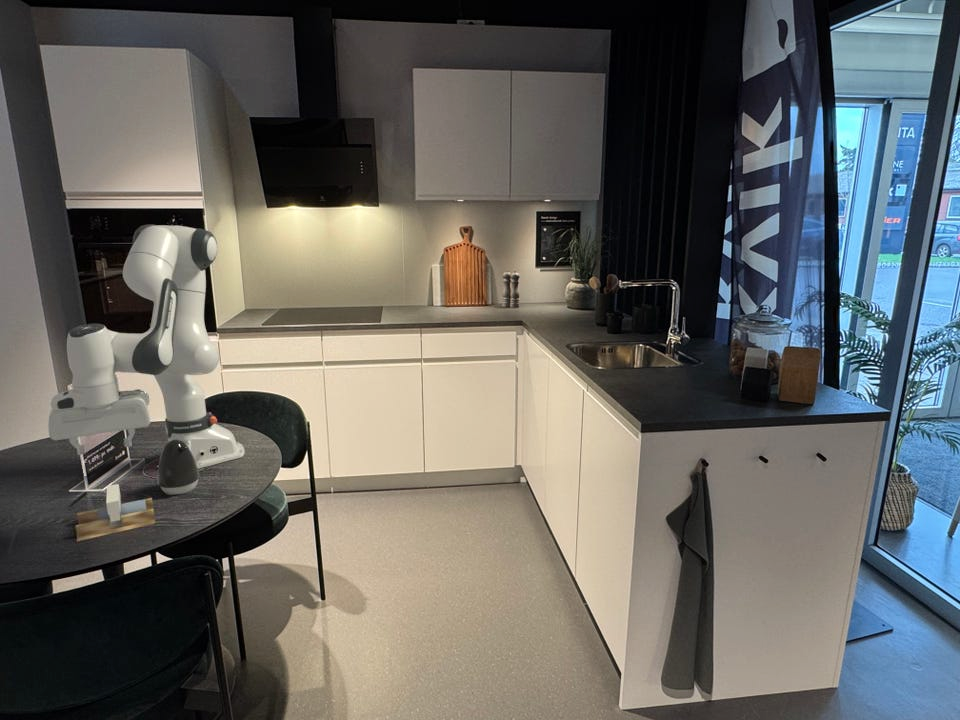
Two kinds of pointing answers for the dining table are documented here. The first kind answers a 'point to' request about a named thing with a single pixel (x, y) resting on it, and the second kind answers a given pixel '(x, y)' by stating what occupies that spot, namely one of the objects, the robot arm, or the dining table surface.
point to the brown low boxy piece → (95, 527)
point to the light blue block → (124, 509)
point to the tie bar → (113, 502)
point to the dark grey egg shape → (177, 468)
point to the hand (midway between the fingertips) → (105, 449)
